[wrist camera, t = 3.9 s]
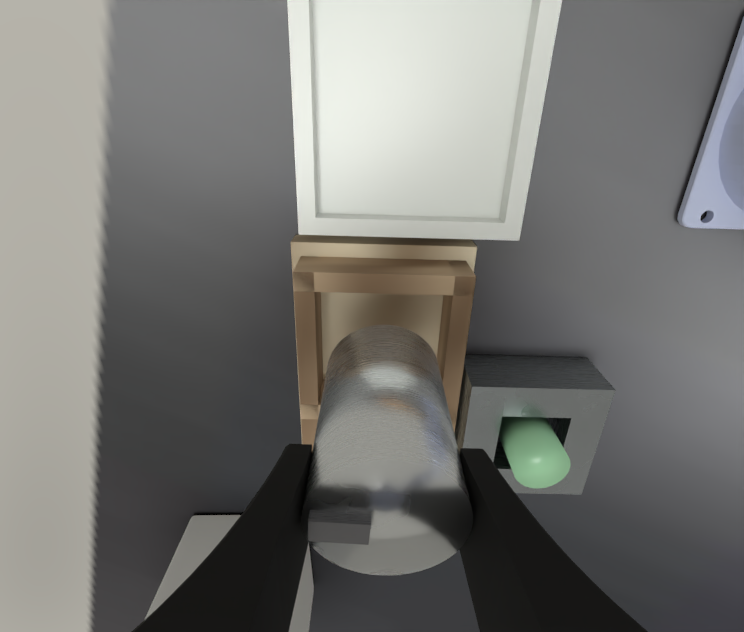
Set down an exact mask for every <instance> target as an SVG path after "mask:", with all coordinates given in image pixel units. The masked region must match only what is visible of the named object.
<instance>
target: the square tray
mask: <svg viewBox="0 0 744 632" xmlns="http://www.w3.org/2000/svg"><path fill="white" fill-rule="evenodd" d="M287 2H288V23H289V43H290V64H291V85H292V106H293V127H294V148H295V168H296V189H297V210H298V231H299V235H331V236H367V237H404V238H440V239H477V240H514V241H519V239H520V233H521V228H522V222H523V216H524V211H525V205H526V200H527V194H528V188H529V183H530V177H531V172H532V166H533V160H534V155H535V149H536V143H537V138H538V132H539V127H540V121H541V115H542V110H543V104H544V99H545V93H546V87H547V82H548V76H549V70H550V65H551V59H552V54H553V48H554V42H555V37H556V31H557V26H558V20H559V14H560V9H561V3H562V0H287Z"/></svg>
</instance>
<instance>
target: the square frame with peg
mask: <svg viewBox="0 0 744 632" xmlns="http://www.w3.org/2000/svg"><path fill="white" fill-rule="evenodd" d="M615 391H616V390H615V389H614V388H613V387H612V386H611V384H610V383H609V382H608V381H607V380H606V379H605V378H604V377H603V375H602V374H601V373H600V372H599V371H598V370H597V369H596V367H595V366H594V365H593V364H592V363H591V362H590V361H589V359H588V358H575V357H536V356H497V355H465V361H464V368H463V375H462V382H461V389H460V396H459V404H458V411H457V418H456V425H455V432H454V434H455V438H456V443H457V447H458V451H459V454H460V448H477V449H483V450H484V451H485V452H486V453H487V454H488V456H489V457H490V459H491V460H492V462H493V463H494V465H495V466H496V467H497V469H498V470H499V472H500V473H501V474H502V476H503V477H504V479H505V480H506V481H507V483H508V484H509V485H510V487H511V488H512V489H513V491H514V492H515V493H539V494H582V491H583V488H584V485H585V482H586V479H587V476H588V473H589V470H590V467H591V464H592V461H593V458H594V455H595V452H596V449H597V446H598V442H599V439H600V436H601V433H602V430H603V427H604V424H605V421H606V418H607V415H608V412H609V409H610V406H611V403H612V400H613V397H614V394H615ZM502 416H503V417H543V418H547V420H548V422H549V423H550V425H551V427H552V429H553V430H554V432H555V434H556V436H557V437H558V439H559V441H560V443H561V444H562V446H563V448H564V450H565V451H566V453H567V455H568V457H569V459H570V469H569V472H568V473H567V475H566V476H565V477H564V478H563V479H562V480H561V481H560V482H558V483H556V484H554V485H552V486H549V487H546V488H529V487H526V486H524V485H522V484H520V483H519V482H518V481H517V480H516V478H515V476H514V474H513V471H512V469H511V466H510V464H509V461H508V459H507V456H506V453H505V451H504V448H503V446H502V443H501V441H500V438H499V431H500V426H501V421H502Z"/></svg>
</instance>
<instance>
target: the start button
mask: <svg viewBox="0 0 744 632" xmlns="http://www.w3.org/2000/svg"><path fill="white" fill-rule="evenodd" d="M499 438H500V441H501V443H502V446H503V448H504V451H505V453H506V456H507V459H508V461H509V464H510V466H511V469H512V471H513V474H514V476H515V478H516V480H517V481H518V482H519V483H520V484H522V485H524V486H526V487H529V488H546V487H549V486H552V485H554V484H556V483H558V482H560V481H561V480H562V479H563V478H564V477H565V476H566V475H567V473H568V472H569V469H570V459H569V457H568V455H567V453H566V451H565V450H564V448H563V446H562V444H561V443H560V441H559V439H558V437H557V436H556V434H555V432H554V430H553V429H552V427H551V425H550V423H549V422H548V420H547V418H543V417H503V416H502V421H501V426H500V431H499Z"/></svg>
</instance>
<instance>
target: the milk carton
mask: <svg viewBox="0 0 744 632" xmlns="http://www.w3.org/2000/svg"><path fill="white" fill-rule="evenodd" d="M240 516H241V515H195V516H193V517H191V519H190V521H189V523H188V526H187V528H186V530H185V532H184V534H183V536H182V539H181V541H180V543H179V545H178V547H177V550H176V552H175V554H174V556H173V558H172V561H171V563H170V565H169V567H168V569H167V572H166V574H165V576H164V578H163V580H162V583H161V585H160V587H159V589H158V591H157V593H156V596H155V598H154V600H153V602H152V604H151V607H150V609H149V611H148V613H147V615H146V618H147V617H149V616H150V615H151V614H152V613H153V612H154V611H155V610H156V609H157V608H158V607H159V606H160V605H161V604H162V603H163V602H164V601H165V600H166V599H167V598H168V597H169V596H170V595H171V594H172V593H173V592H174V591H175V590H176V589H177V588H178V587H179V586H180V585H181V584H182V583H183V582H184V581H185V580H186V579H187V578H188V577H189V576H190V575H191V574H192V573H193V572H194V571H195V570H196V568H197V567H198V566H199V565H200V564H201V563H202V562H203V561H204V560H205V559H206V557H207V556H208V555H209V554H210V553H211V552H212V551H213V549H214V548H215V547H216V546H217V545H218V543H219V542H220V541H221V540H222V539H223V538H224V536H225V535H226V534H227V532H228V531H229V530H230V529H231V527H232V526H233V525H234V524H235V522H236V521H237V520H238V518H239V517H240ZM313 592H314V584H313V575H312V566H311V557H310V548H309V542H308V547H307V551H306V556H305V560H304V565H303V569H302V574H301V578H300V583H299V587H298V592H297V596H296V601H295V605H294V609H293V614H292V618H291V623H290V628H289V632H309V624H310V616H311V608H312V600H313ZM146 618H145V619H146Z"/></svg>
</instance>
